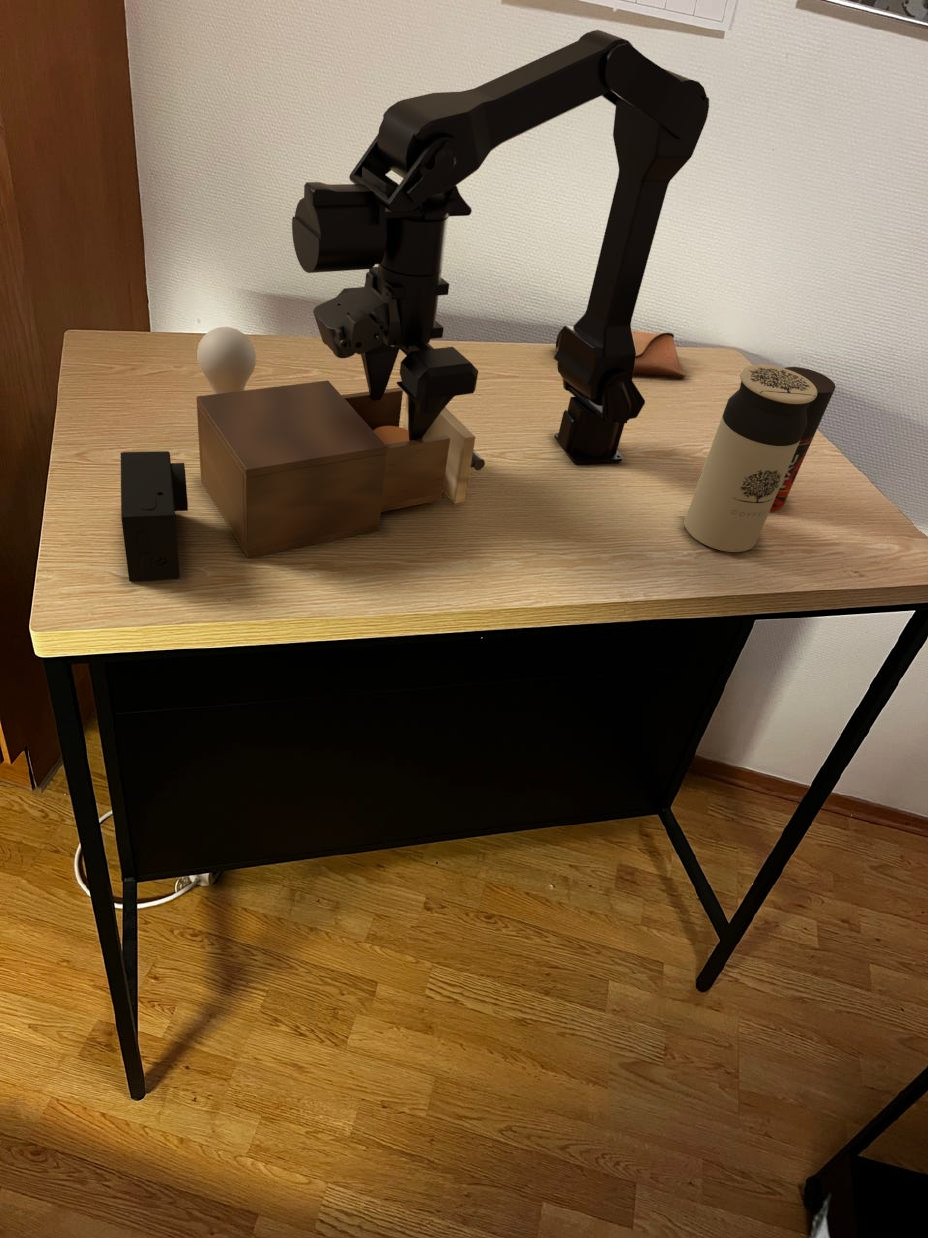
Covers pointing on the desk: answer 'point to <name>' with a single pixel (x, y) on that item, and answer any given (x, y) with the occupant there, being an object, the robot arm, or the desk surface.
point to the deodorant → (806, 429)
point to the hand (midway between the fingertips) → (394, 419)
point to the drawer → (420, 453)
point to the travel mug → (749, 457)
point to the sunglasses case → (653, 354)
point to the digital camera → (151, 513)
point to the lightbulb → (226, 359)
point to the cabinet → (290, 466)
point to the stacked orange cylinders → (392, 434)
